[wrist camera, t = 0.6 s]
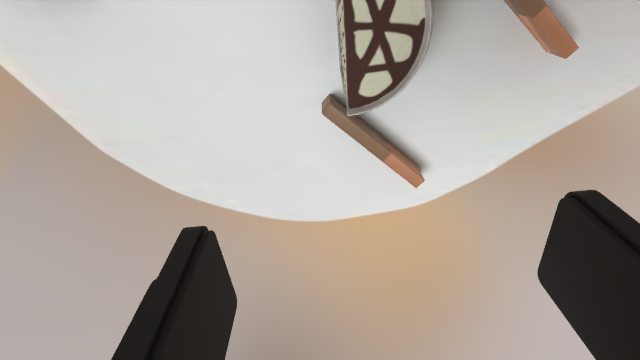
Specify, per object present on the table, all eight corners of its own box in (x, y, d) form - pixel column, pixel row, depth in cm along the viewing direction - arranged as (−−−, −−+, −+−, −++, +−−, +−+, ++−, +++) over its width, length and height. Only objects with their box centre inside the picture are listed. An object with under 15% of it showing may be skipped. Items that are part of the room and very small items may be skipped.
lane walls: (470, -70, 27) (485, -74, 25) (558, 41, 32) (579, 47, 29) (321, 103, 35) (322, 113, 32) (409, 173, 39) (416, 188, 37)
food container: (404, 77, 34) (433, 115, 25) (340, 83, 34) (348, 123, 25) (409, -80, 27) (450, -102, 19) (330, -71, 27) (336, -88, 19)
